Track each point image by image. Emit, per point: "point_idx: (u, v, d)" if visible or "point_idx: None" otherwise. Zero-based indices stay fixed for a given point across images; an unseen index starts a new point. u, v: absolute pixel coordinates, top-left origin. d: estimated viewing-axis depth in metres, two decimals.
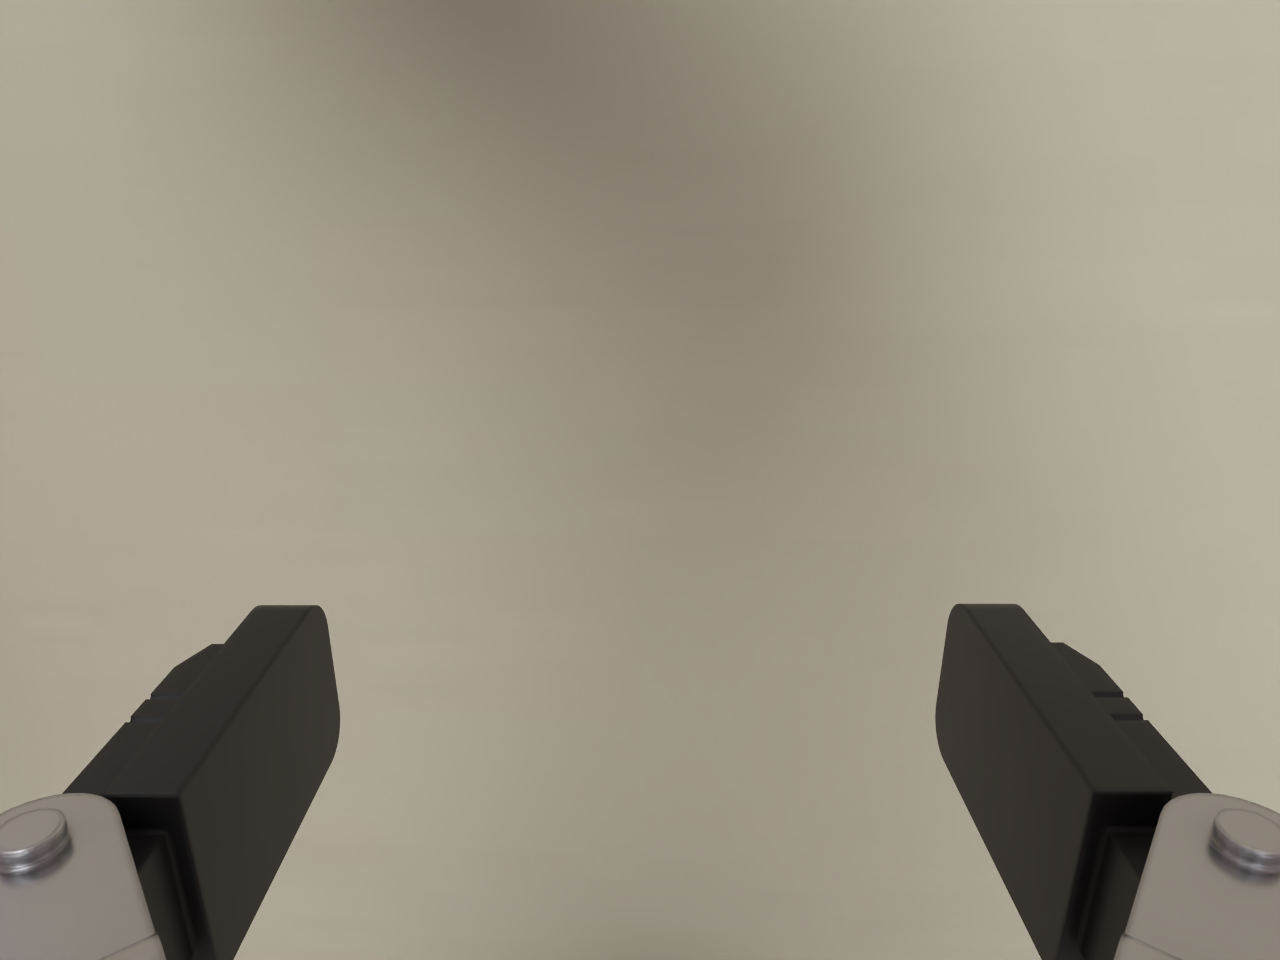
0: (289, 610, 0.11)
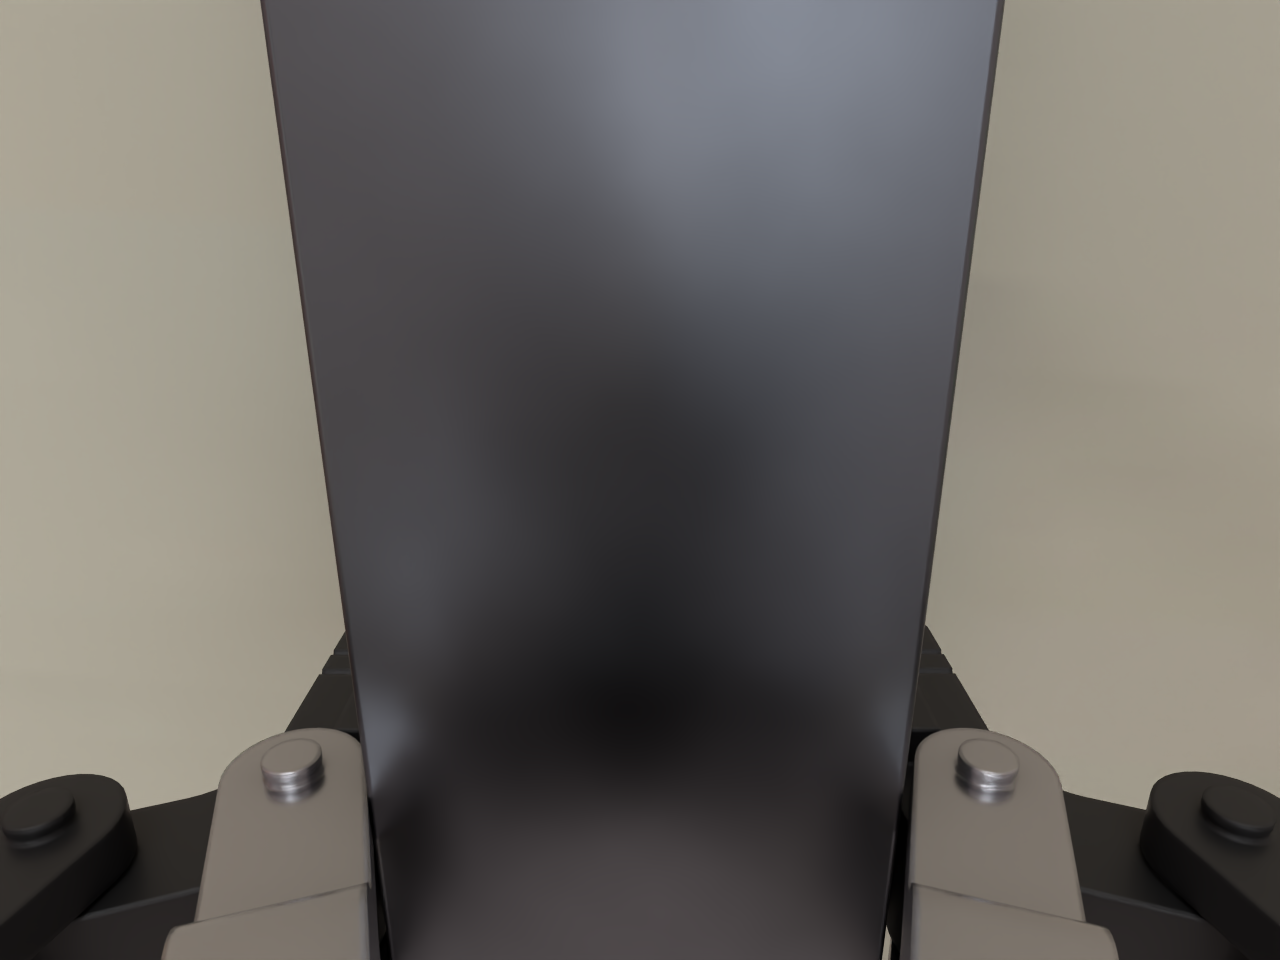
0: None
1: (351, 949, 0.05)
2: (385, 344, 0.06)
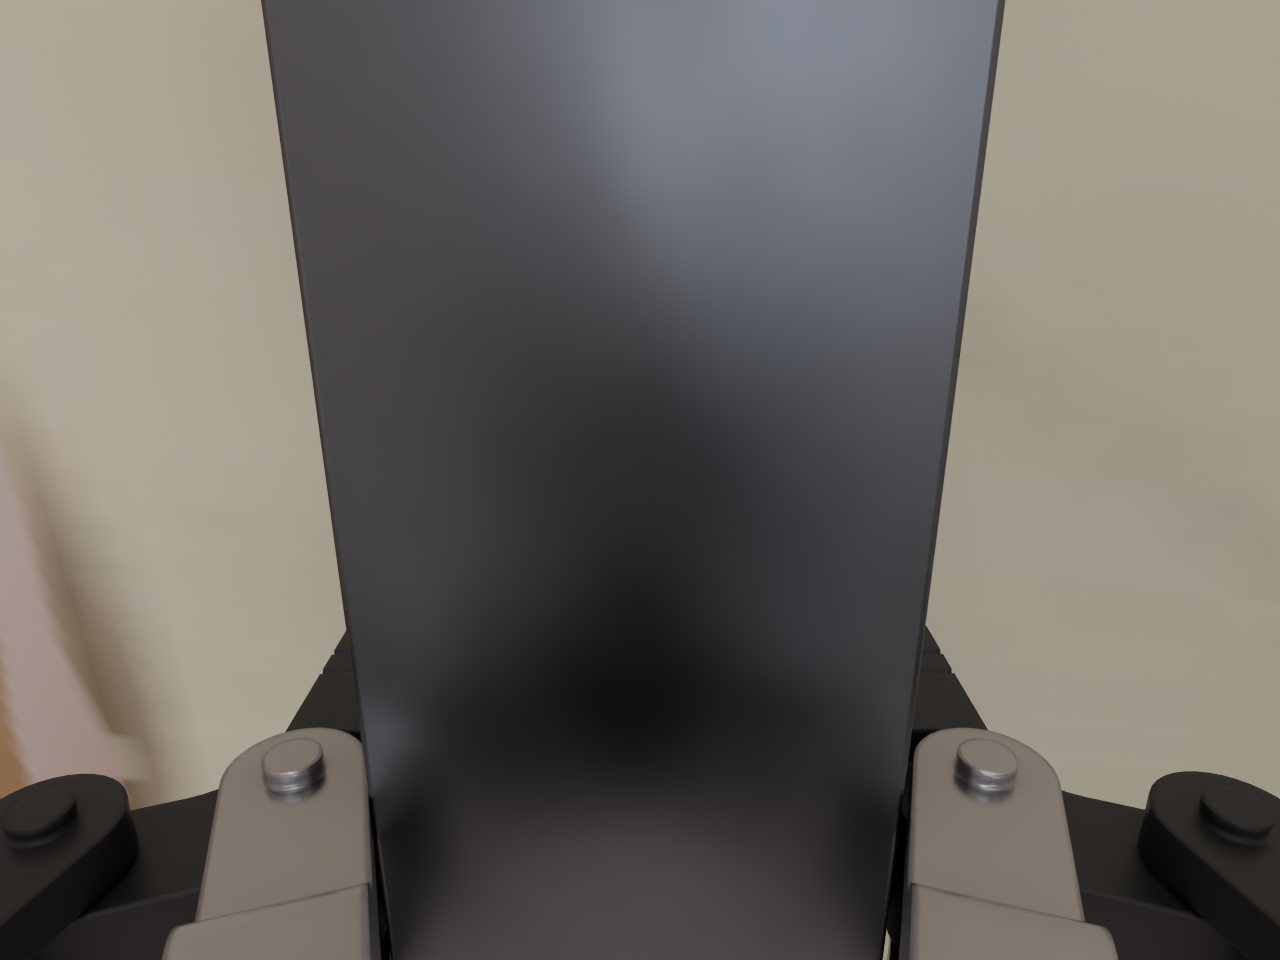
0: None
1: (351, 949, 0.05)
2: (386, 343, 0.06)
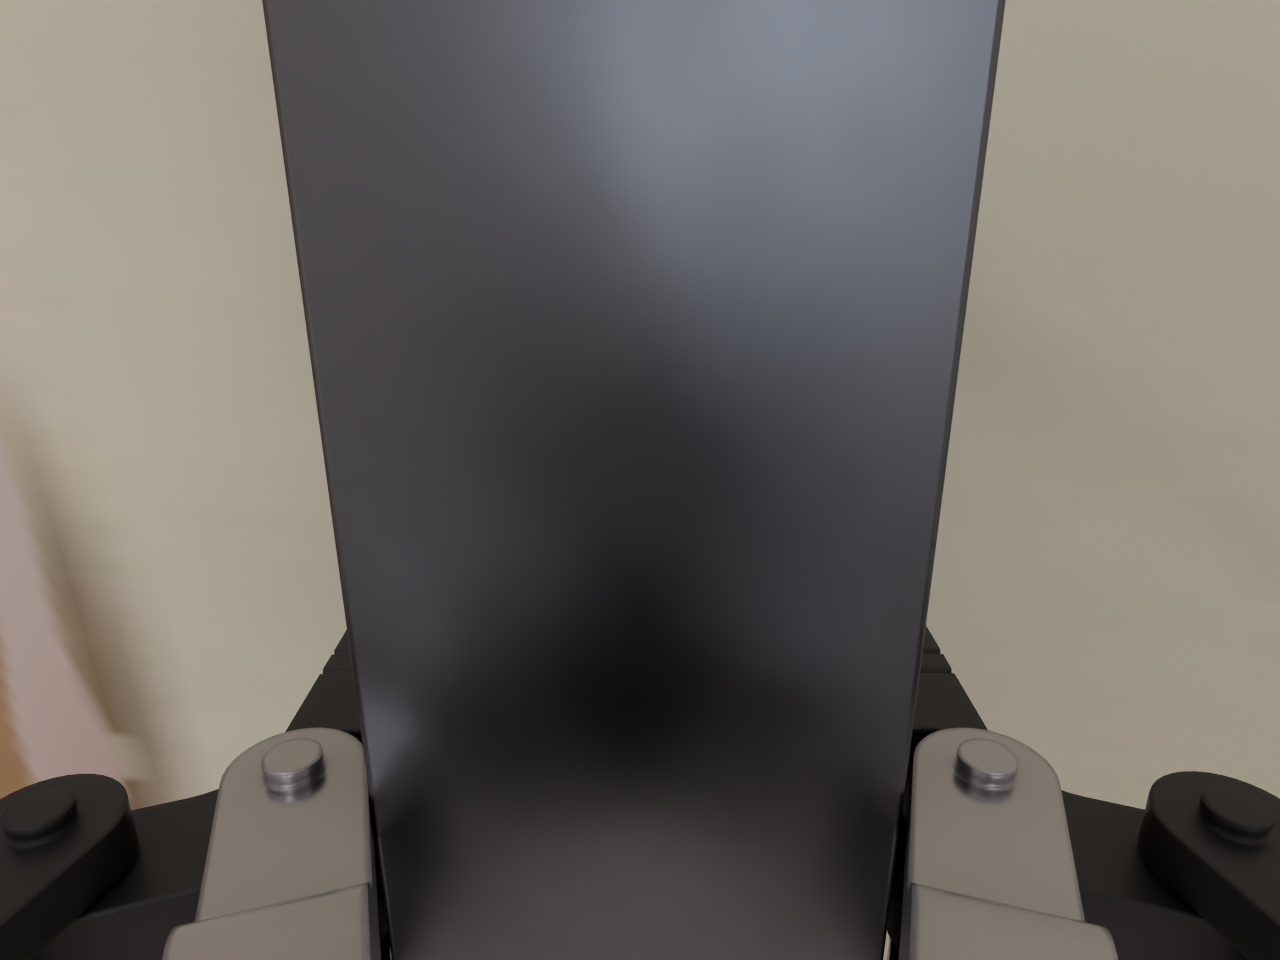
0: None
1: (351, 949, 0.05)
2: (387, 342, 0.06)
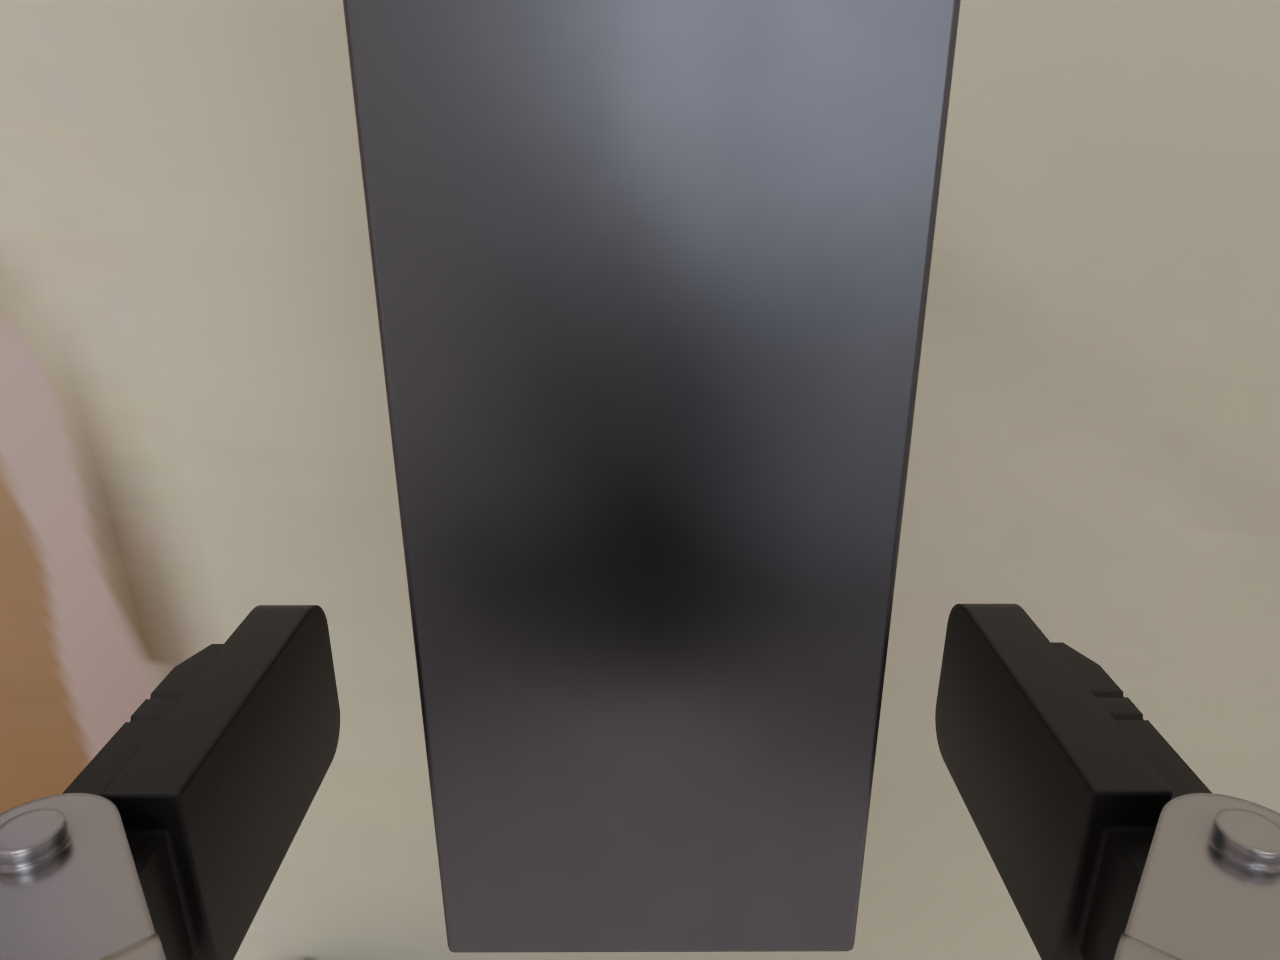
0: (289, 610, 0.11)
1: None
2: (432, 174, 0.07)
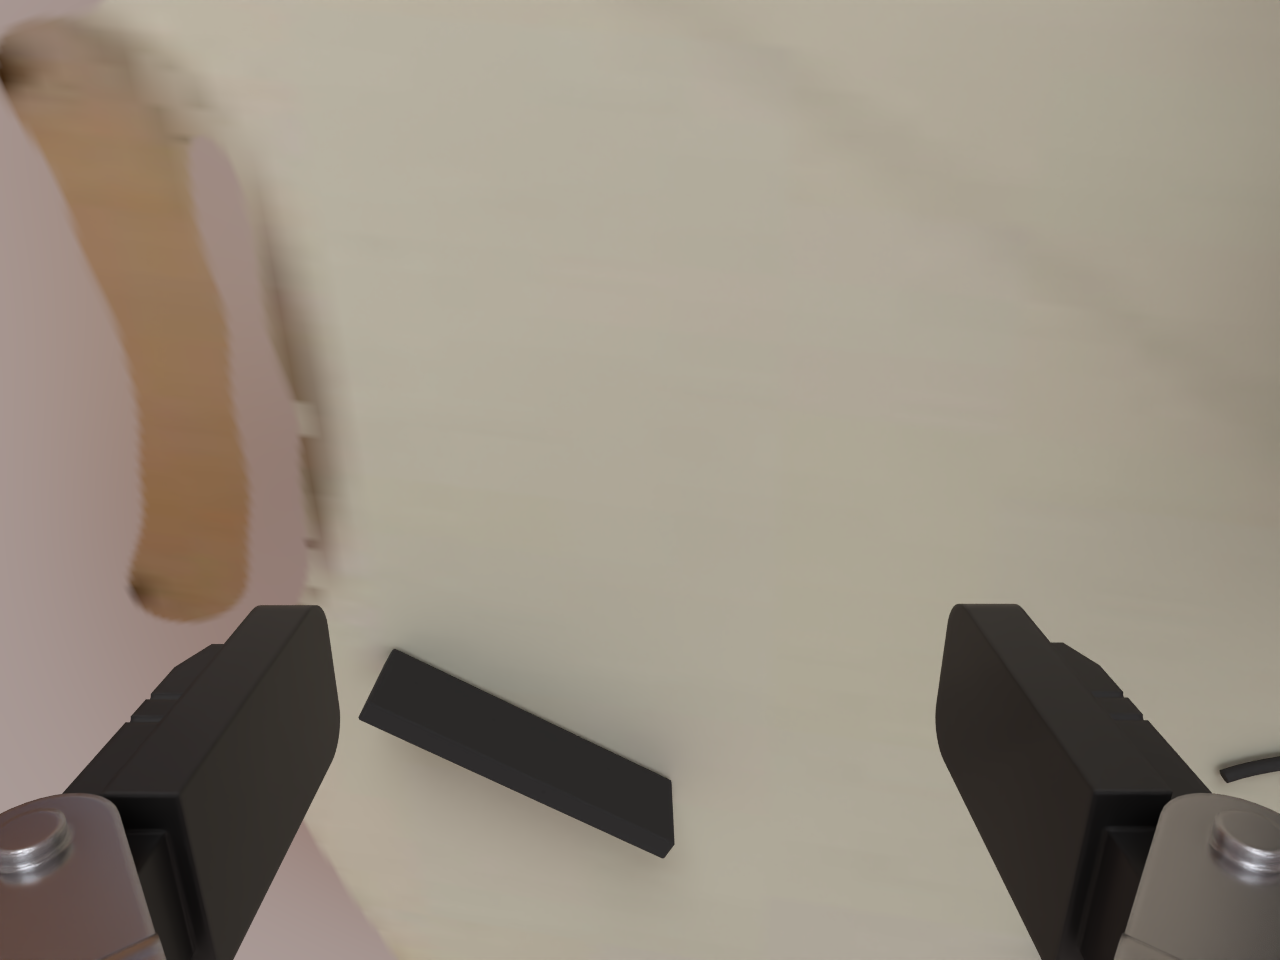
0: (289, 610, 0.11)
1: None
2: None
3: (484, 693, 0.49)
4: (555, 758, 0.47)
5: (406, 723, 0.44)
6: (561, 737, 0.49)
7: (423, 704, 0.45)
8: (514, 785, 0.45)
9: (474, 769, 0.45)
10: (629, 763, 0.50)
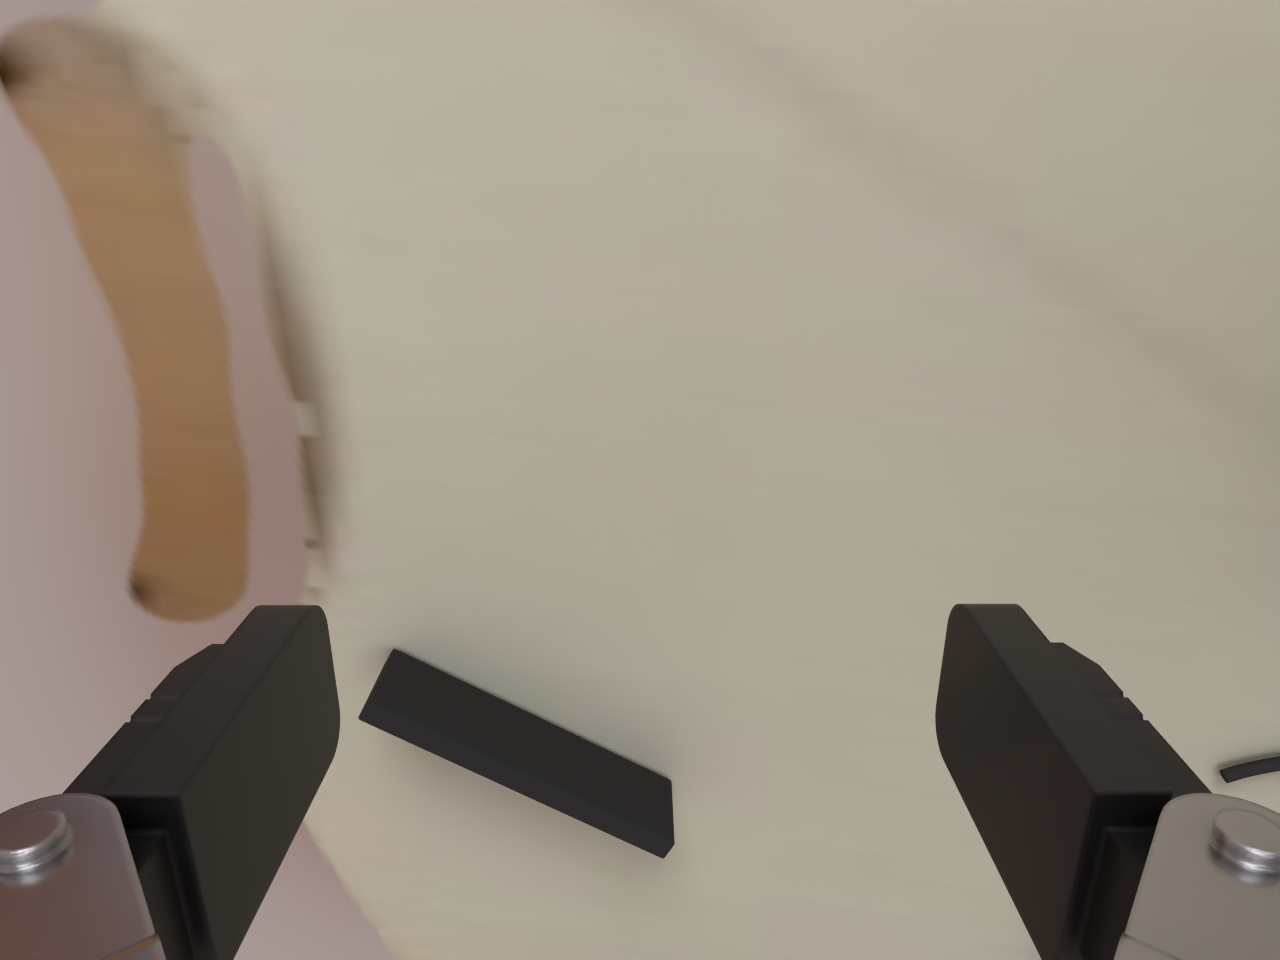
0: (289, 610, 0.11)
1: None
2: None
3: (484, 693, 0.49)
4: (555, 758, 0.47)
5: (406, 723, 0.44)
6: (561, 737, 0.49)
7: (423, 704, 0.45)
8: (514, 785, 0.45)
9: (474, 769, 0.45)
10: (629, 763, 0.50)
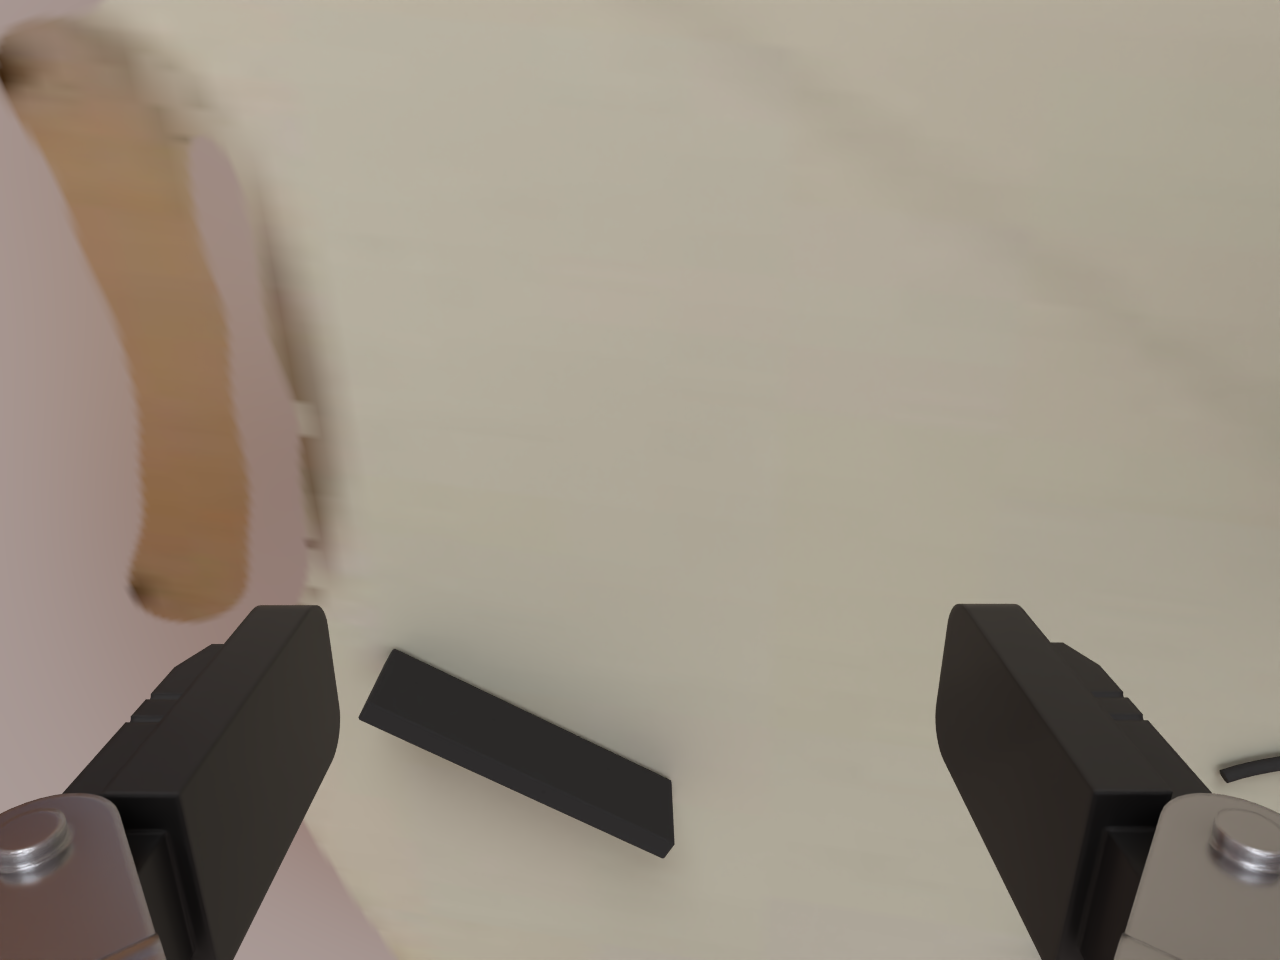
0: (289, 610, 0.11)
1: None
2: None
3: (484, 693, 0.49)
4: (555, 758, 0.47)
5: (406, 723, 0.44)
6: (561, 737, 0.49)
7: (423, 704, 0.45)
8: (514, 785, 0.45)
9: (474, 769, 0.45)
10: (629, 763, 0.50)
